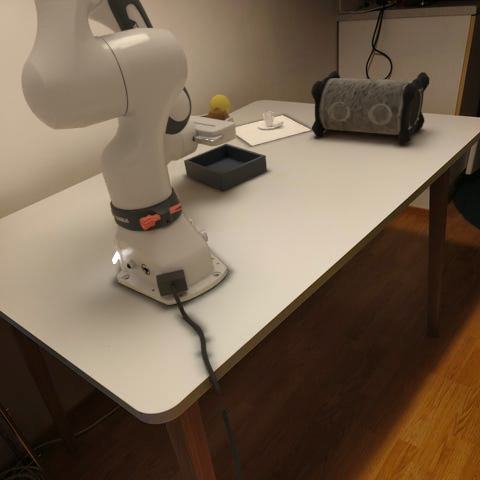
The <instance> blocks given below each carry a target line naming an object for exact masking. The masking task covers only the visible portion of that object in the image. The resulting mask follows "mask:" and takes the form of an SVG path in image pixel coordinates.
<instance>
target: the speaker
mask: <svg viewBox="0 0 480 480" xmlns="http://www.w3.org/2000/svg"><path fill="white" fill-rule="evenodd" d="M429 85H430V77H429V75H428V74H427V73H426V72H424V71H421V72H420V73H419V74H418V75H417V77H416V78H415V79H387V78H384V79H382V78H349V77H348V78H343V77H342V78H341V76H340V74H339V70H333V71H332V72H330V73H329V74H328V76H326V77H324V78H323V79H322V80H317V81H316V82H314V84H313V85H312V87H311V93H310V94H311V96H312V98H313V100H314V122H313V124H312V126H311V131H312V132H313V134H314V135H315V137H317V138H320V137H322V136H323V135H324V133H325V131H327V130H334V131H340V132H342V131H344V132H345V131H346V132H356V133H358V132H359V133H367V134H368V133H370V134H381V135H393V136H397V139H398V141H399V145H405V144H408V143H409V142H410V141H411V140H412V138H411V137H412V136H413V134H414V133H415V132H418V131H420V130H421V129H422V128H423V126H424V124H425V117H424V114H423V112H422V109H423V103H424V92H425V91H426V89H427V88H428V87H429Z"/></svg>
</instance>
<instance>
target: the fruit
mask: <svg viewBox="0 0 480 480" xmlns="http://www.w3.org/2000/svg"><path fill="white" fill-rule="evenodd" d="M207 114H208V115H207V118H211V119H218V120H224V118H227V117H230V115H229V113H227V111H226V110H225V109H222V108H219V107H215V108H214V109H213V110H211V109H210V110H209V112H208V113H207Z"/></svg>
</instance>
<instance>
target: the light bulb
mask: <svg viewBox="0 0 480 480" xmlns="http://www.w3.org/2000/svg"><path fill="white" fill-rule="evenodd" d="M215 107H219V108H222V109H225V110H226V111H227V113H228V114H230V113H229V112H230V109H231V102H230V99H229V98H228V97H227V96H226V95H224V94H216V95H214V96H213V97H212V98H211V100H210V102H209V108H210V111H211V110H213V109H214V108H215Z"/></svg>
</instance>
